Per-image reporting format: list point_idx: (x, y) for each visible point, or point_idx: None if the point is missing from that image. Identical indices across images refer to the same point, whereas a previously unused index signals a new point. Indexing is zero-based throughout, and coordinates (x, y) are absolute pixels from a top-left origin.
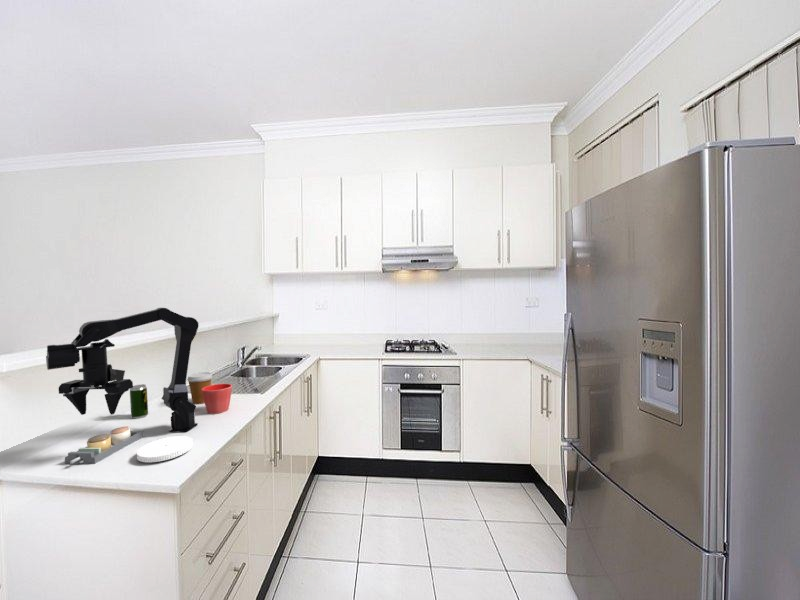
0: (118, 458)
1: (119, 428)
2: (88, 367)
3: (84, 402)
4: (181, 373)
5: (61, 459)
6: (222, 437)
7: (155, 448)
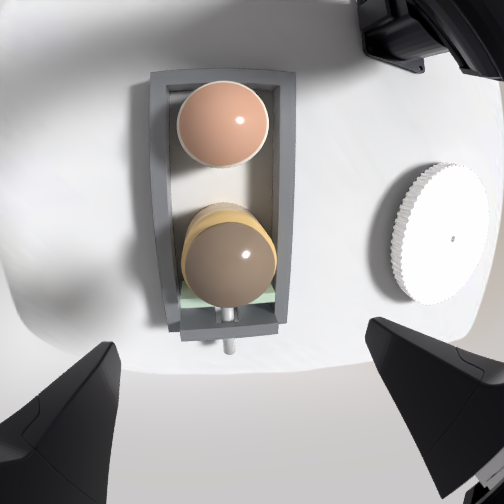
0: (332, 273)
1: (204, 108)
2: None
3: (78, 421)
4: None
5: (122, 293)
6: (498, 145)
7: (438, 257)
